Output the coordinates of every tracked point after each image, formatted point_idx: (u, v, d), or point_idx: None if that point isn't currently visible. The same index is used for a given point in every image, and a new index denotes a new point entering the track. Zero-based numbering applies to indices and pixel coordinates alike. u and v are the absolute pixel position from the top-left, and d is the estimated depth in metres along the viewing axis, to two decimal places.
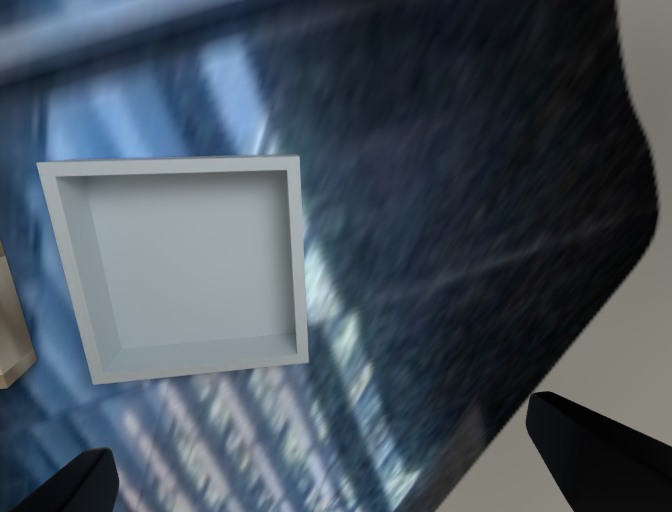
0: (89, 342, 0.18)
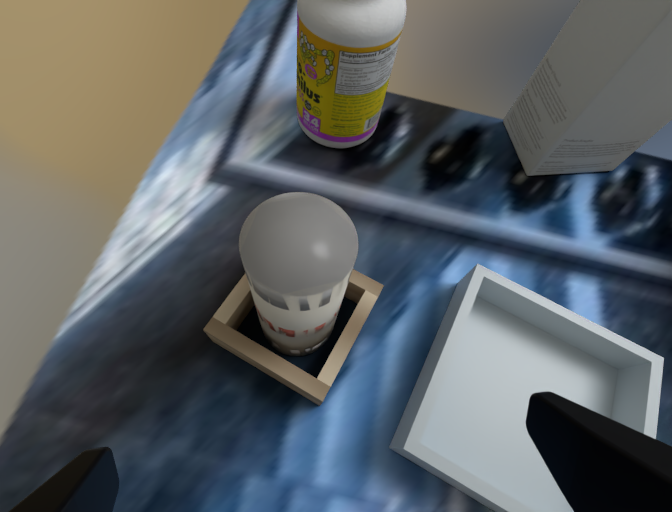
0: (429, 402, 0.18)
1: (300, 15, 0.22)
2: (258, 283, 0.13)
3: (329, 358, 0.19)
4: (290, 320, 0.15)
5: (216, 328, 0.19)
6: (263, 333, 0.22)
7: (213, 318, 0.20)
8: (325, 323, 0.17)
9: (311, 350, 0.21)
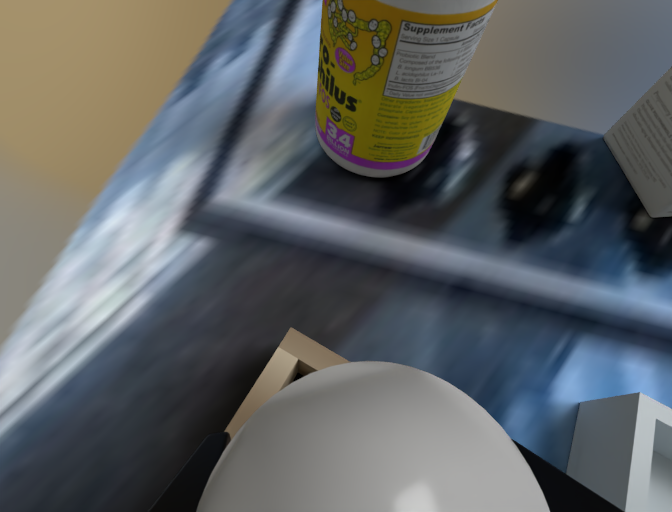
0: None
1: None
2: None
3: None
4: None
5: None
6: None
7: None
8: None
9: None
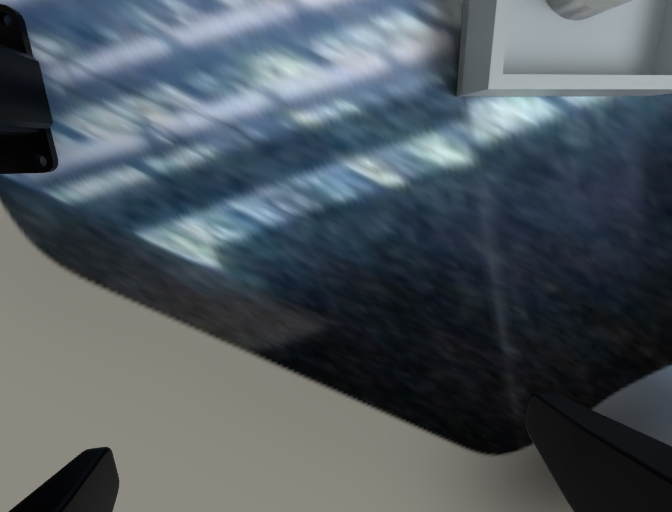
0: None
1: None
2: None
3: None
4: None
5: None
6: None
7: None
8: None
9: None
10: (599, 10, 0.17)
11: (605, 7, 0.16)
